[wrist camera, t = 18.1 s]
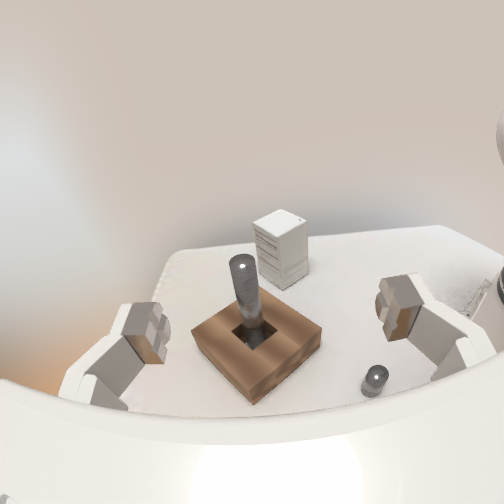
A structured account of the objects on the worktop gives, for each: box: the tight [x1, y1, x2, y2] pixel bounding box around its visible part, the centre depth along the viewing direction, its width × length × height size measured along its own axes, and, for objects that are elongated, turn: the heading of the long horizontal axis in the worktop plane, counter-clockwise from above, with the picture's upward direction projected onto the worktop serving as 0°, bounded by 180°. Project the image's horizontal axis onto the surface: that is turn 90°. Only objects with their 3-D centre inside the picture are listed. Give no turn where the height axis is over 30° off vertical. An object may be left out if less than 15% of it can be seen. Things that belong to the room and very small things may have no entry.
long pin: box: [229, 254, 266, 351], centre depth 37 cm, size 3×3×18 cm
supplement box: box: [253, 209, 308, 291], centre depth 53 cm, size 7×7×13 cm
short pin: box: [361, 365, 389, 398], centre depth 32 cm, size 3×3×4 cm
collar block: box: [191, 286, 322, 405], centre depth 41 cm, size 14×14×5 cm
